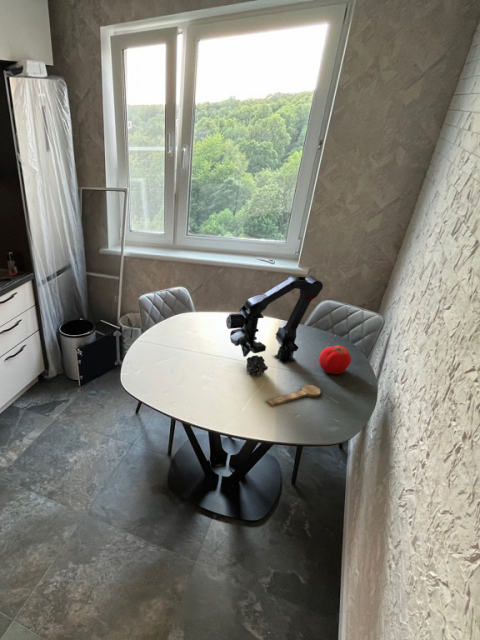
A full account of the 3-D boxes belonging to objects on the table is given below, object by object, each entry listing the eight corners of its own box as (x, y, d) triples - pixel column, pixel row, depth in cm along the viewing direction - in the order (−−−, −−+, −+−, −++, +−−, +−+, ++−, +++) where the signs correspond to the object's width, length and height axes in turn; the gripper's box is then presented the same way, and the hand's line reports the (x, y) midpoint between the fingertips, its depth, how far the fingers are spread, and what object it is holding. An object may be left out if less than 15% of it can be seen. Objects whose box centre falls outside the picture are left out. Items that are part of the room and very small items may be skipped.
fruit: (250, 344, 183) (254, 360, 171) (267, 350, 183) (272, 367, 171) (241, 359, 188) (244, 376, 176) (257, 365, 188) (262, 382, 176)
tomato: (311, 371, 179) (318, 349, 172) (322, 359, 187) (328, 337, 180) (341, 381, 172) (349, 358, 165) (350, 368, 179) (358, 345, 173)
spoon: (310, 385, 170) (311, 383, 169) (323, 394, 164) (324, 392, 164) (264, 399, 164) (264, 396, 163) (275, 408, 158) (276, 406, 158)
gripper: (222, 321, 183) (218, 350, 192) (247, 339, 168) (242, 370, 177) (243, 316, 186) (238, 346, 195) (269, 334, 171) (263, 364, 180)
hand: (244, 356), depth 186 cm, fingers closed
